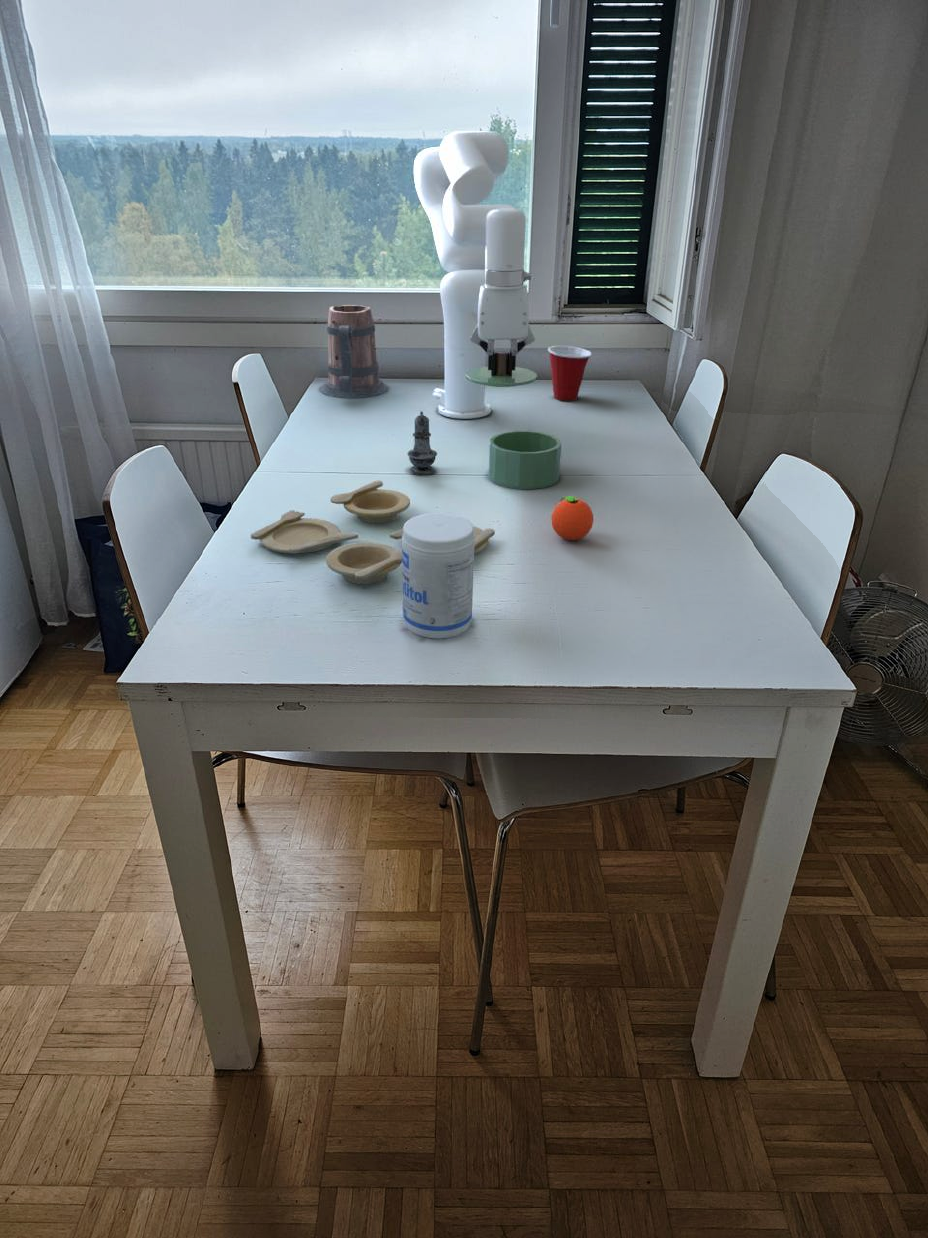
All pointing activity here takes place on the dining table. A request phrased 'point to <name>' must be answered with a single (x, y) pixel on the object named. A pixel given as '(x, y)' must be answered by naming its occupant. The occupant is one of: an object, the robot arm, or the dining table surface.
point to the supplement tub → (437, 574)
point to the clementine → (572, 518)
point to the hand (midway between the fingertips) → (501, 372)
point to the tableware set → (350, 535)
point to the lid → (501, 373)
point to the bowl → (524, 459)
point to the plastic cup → (567, 370)
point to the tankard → (352, 353)
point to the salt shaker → (422, 448)
